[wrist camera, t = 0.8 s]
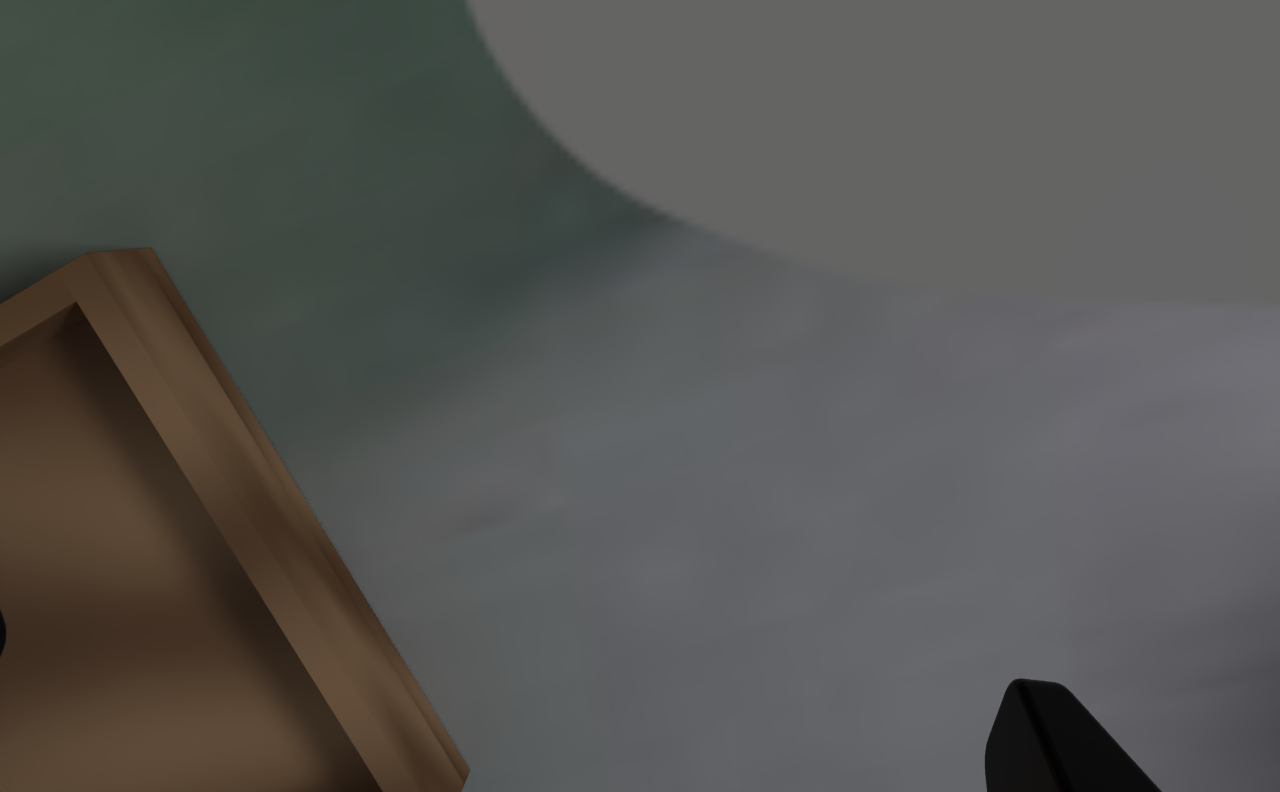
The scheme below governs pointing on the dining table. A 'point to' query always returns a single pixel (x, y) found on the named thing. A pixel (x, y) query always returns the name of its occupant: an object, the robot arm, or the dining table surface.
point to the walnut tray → (175, 571)
